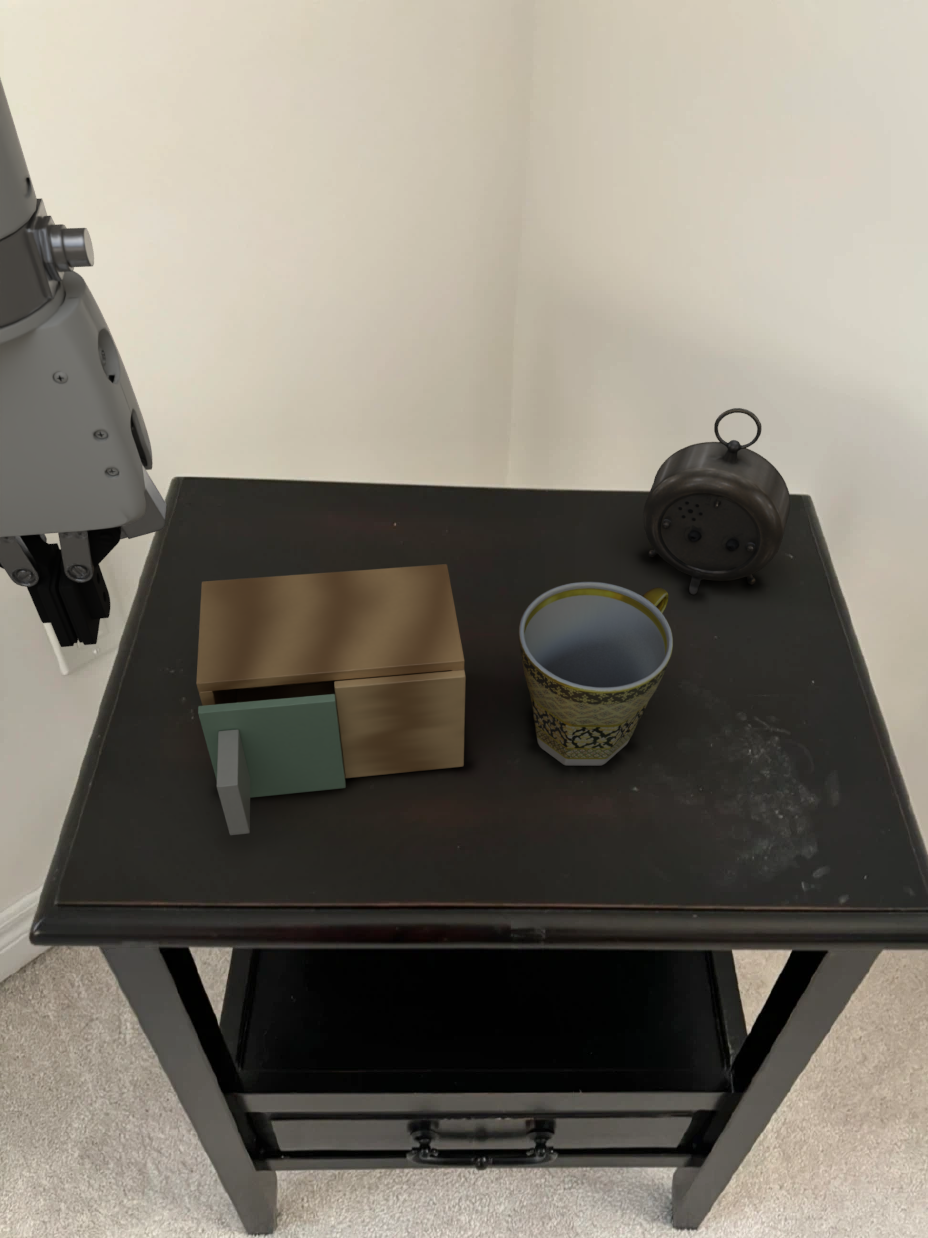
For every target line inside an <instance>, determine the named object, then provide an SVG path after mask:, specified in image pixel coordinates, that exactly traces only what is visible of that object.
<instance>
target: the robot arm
mask: <svg viewBox="0 0 928 1238" xmlns="http://www.w3.org/2000/svg"><path fill="white" fill-rule="evenodd" d="M94 265H95V254H94V246H93V242H92V238H91V235H90V232H89V230H88V228H87V227H68V228H67V226H66V224H63V223H62V224H61V223H60V224H55V221H54V219H53V216H52V215H48V212H47V210H46V205H45V202H44V199H43V198H37V194H36V191H35V188H34V184H33V181H32V178H31V175H30V171H29V168H28V165H27V161H26V158H25V155H24V152H23V148H22V145H21V142H20V139H19V136H18V131H17V129H16V125H15V123H14V118H13V116H12V112H11V109H10V105H9V102H8V99H7V95H6V92H5V89H4V85H3V82H2V78H1V77H0V568H1V569H3V570H4V571H5V573H6V574H7V575H8V577H9V579H10V580H11V581H12V583H14V584H15V585H18V586H20V587H26V589H27V591H28V593H29V596H30V598H31V601H32V602H33V603H32V604H33V605H34V609H35V610H36V612H37V614H38V617H39V620H40V622H41V623H42V624H50V625H51V627H52V630H53V632H54V634H55V637H56V639H57V641H58V644H59V647H60V648H66V647H74V646H75V644H78V643H80V644H81V643H82V644H83V645H84V646H90V645H97V643H98V637H99V631H100V630H99V629H100V623H101V619H109V617H110V615H111V614H110V613H111V597H110V593H109V589H108V587H107V583H106V581H105V578H104V575H103V572H102V569H101V566H100V563H101V562H102V561H104V559H105V558H106V557H107V556H108V555H109V554H110V553H111V551H112V550H114V549H115V548H116V546H117V545H118V544H119V542H120V541H121V540H124V539H127V540H131V539H134V538H138V537H142V536H145V535H149V534H153V533H156V532H160V531H162V530H164V528H165V527H166V523H167V515H168V514H167V513H168V505H167V502H166V501H165V499H164V498H163V496H162V494H161V492H160V491H159V489H158V487H157V486H156V484H155V483H154V481H153V479H152V478H151V476H150V475H149V473H148V471H150V470H151V471H152V469H153V464H154V463H153V451H152V445H151V441H150V437H149V433H148V429H147V426H146V423H145V420H144V417H143V413H142V410H141V408H140V405H139V402H138V400H137V397H136V396H137V395H136V393H135V391H134V388H133V386H132V383H131V380H130V377H129V374H128V372H127V369H126V366H125V364H124V361H123V359H122V357H121V353H120V352H119V349H118V347H117V344H116V342H115V340H114V337H113V335H112V332H111V331H110V328H109V325H108V323H107V321H106V319H105V317H104V314H103V313H102V311H101V309H100V306H99V304H98V302H97V301H96V299H95V297H94V295H93V293H92V291H91V290H90V288H89V286H88V284H87V282H86V280H85V279H84V277H83V276H82V275H81V274H80V273H78V272H77V271H75V268H88V267H94ZM48 534H49V535H50V534H57V535H58V541H59V543H58V542H56V543H55V542H53V543H48V542H47V541H48V538H47V536H46V535H48Z"/></svg>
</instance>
